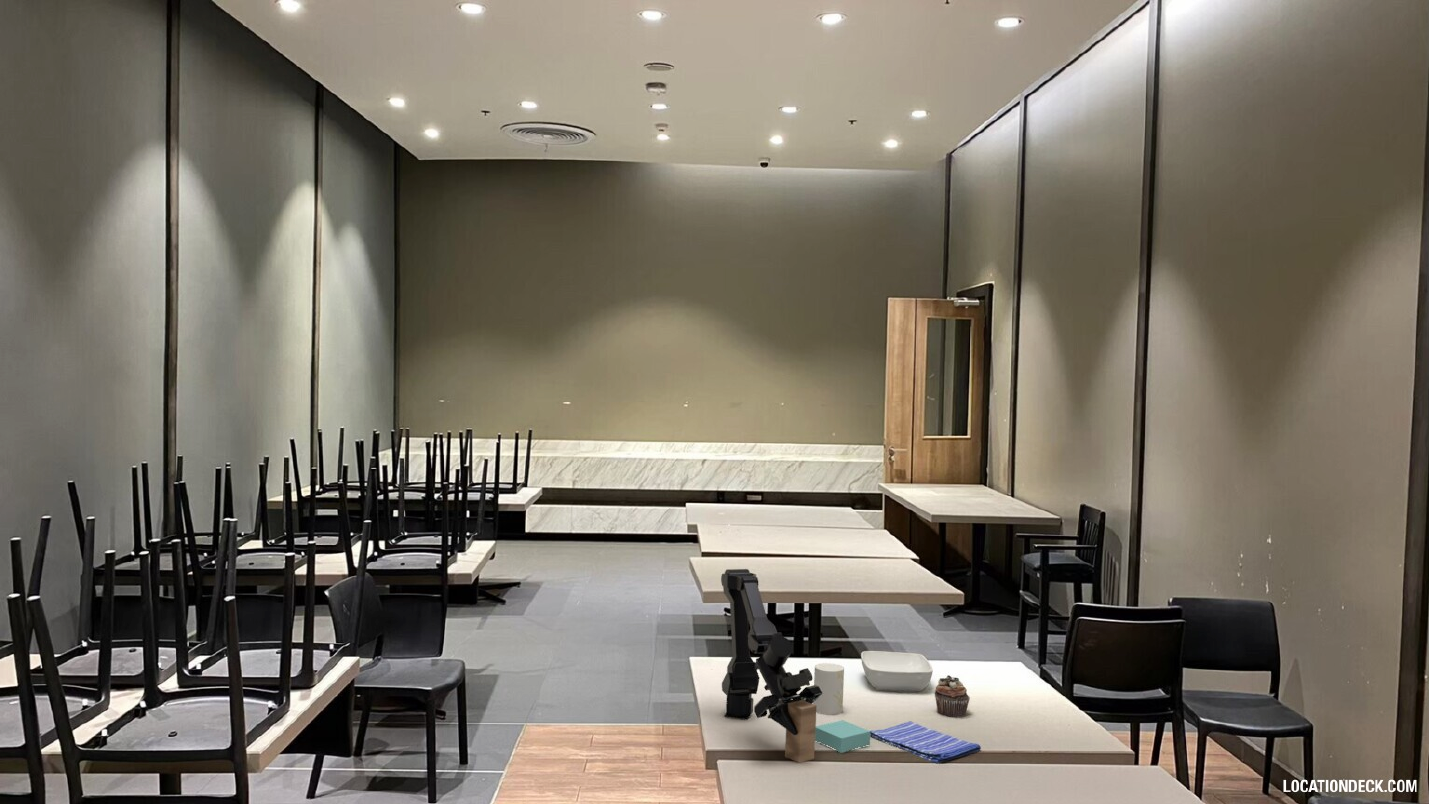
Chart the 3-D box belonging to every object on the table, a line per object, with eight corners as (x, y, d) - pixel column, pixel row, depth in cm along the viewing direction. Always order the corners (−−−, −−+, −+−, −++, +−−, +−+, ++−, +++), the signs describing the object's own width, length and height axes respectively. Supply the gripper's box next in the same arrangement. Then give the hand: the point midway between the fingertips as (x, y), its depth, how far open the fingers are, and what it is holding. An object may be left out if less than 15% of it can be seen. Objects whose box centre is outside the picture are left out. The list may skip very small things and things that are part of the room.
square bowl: (935, 696, 310) (936, 670, 309) (865, 694, 310) (866, 668, 310) (922, 676, 330) (923, 652, 330) (857, 674, 330) (858, 649, 330)
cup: (841, 715, 289) (842, 672, 288) (811, 712, 290) (813, 669, 290) (843, 706, 297) (845, 664, 296) (814, 704, 298) (816, 661, 298)
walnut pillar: (784, 756, 256) (787, 703, 256) (799, 752, 260) (802, 700, 259) (799, 762, 252) (801, 708, 252) (814, 758, 256) (816, 705, 255)
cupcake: (962, 720, 288) (964, 684, 288) (928, 713, 293) (930, 677, 293) (973, 711, 296) (975, 676, 296) (940, 705, 301) (942, 670, 301)
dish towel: (939, 766, 255) (940, 755, 255) (866, 738, 273) (867, 727, 273) (983, 752, 266) (983, 741, 265) (910, 726, 284) (910, 715, 284)
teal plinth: (813, 742, 268) (814, 726, 268) (842, 735, 274) (842, 720, 274) (840, 754, 260) (841, 738, 260) (869, 746, 266) (870, 731, 266)
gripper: (763, 664, 252) (794, 722, 244) (818, 652, 264) (849, 708, 256) (740, 688, 259) (769, 746, 250) (795, 676, 271) (824, 731, 262)
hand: (804, 732), depth 255 cm, fingers closed on walnut pillar, 5 cm apart
